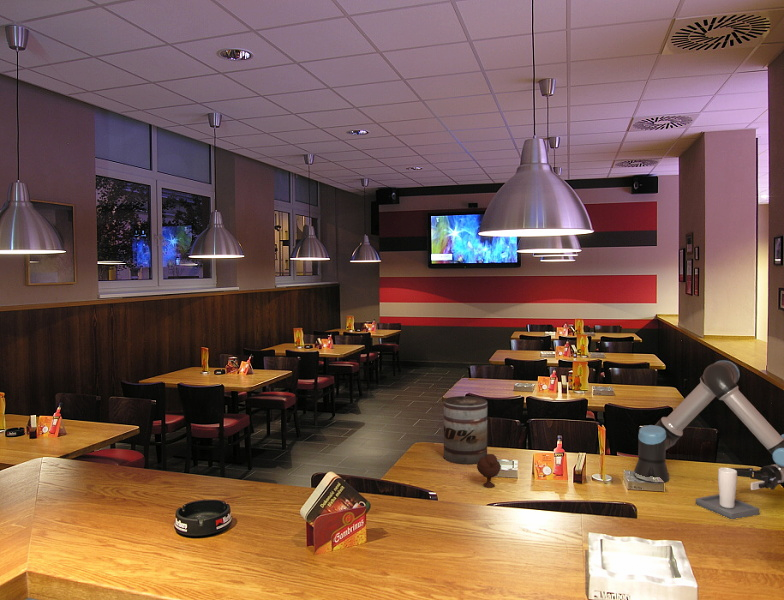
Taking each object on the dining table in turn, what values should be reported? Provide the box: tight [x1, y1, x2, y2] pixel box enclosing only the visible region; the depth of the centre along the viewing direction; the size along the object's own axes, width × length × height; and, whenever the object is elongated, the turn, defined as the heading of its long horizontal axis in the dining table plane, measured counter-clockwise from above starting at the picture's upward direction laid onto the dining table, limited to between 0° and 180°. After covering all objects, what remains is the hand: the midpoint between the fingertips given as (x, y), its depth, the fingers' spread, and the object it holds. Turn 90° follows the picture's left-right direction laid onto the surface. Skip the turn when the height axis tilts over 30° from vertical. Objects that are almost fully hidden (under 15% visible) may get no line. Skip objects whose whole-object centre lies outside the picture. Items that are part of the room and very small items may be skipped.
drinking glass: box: [717, 467, 738, 508], centre depth 244 cm, size 7×7×15 cm
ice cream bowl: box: [476, 453, 502, 489], centre depth 273 cm, size 11×11×15 cm
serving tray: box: [695, 493, 760, 520], centre depth 245 cm, size 17×15×2 cm
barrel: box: [443, 395, 488, 466], centre depth 313 cm, size 22×22×30 cm
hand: (736, 480), depth 245 cm, fingers open, 13 cm apart
